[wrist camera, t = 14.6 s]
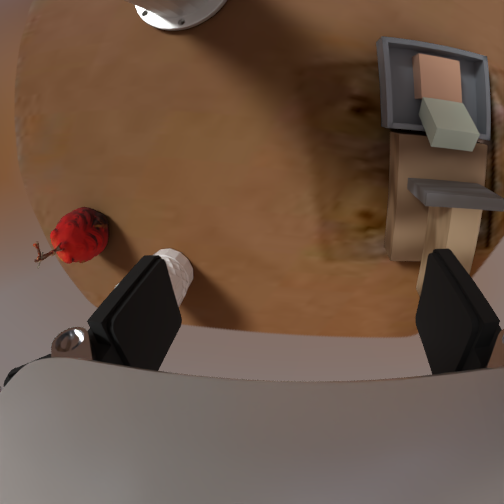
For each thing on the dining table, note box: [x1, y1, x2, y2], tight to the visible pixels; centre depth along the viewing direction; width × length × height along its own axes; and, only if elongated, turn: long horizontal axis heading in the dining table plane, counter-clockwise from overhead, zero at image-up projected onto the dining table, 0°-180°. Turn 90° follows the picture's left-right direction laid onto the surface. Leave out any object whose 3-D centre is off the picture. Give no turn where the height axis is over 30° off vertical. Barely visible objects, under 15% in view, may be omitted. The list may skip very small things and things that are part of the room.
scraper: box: [407, 178, 504, 296], centre depth 28 cm, size 13×9×6 cm
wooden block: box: [384, 131, 488, 261], centre depth 30 cm, size 14×11×4 cm
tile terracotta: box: [412, 54, 462, 103], centre depth 25 cm, size 5×5×2 cm
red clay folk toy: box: [33, 207, 109, 268], centre depth 36 cm, size 8×7×15 cm
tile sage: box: [419, 97, 480, 152], centre depth 25 cm, size 5×5×2 cm
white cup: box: [114, 249, 193, 307], centre depth 39 cm, size 8×8×10 cm
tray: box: [376, 36, 491, 141], centre depth 25 cm, size 10×13×3 cm
